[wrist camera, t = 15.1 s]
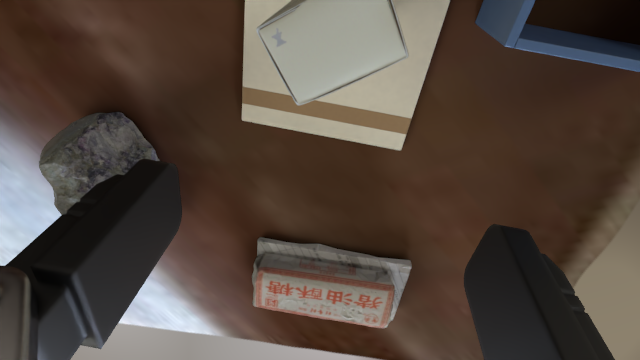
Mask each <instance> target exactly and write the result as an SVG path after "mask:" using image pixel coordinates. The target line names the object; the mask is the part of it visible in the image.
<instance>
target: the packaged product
mask: <svg viewBox="0 0 640 360" xmlns="http://www.w3.org/2000/svg"><path fill="white" fill-rule="evenodd" d="M257 242H258V246H257V258H256V260H255V262H254V266H253V267H254V271H253V275H252V281H253V286H254V293H253V298H254V299H253V303H252V304H253V306H255V307H260V308H266V309H270V310H275V311H283V312H287V313H294V314H299V315H306V316H310V317H317V318H322V319H329V320H336V321H341V322H348V323H355V324H359V325H366V326H370V327H377V328H386V327H388V324H389V323H390V320H393V318H394V315H395V313H396V309H397V307H398V304H399V301H400V298H401V295H402V292H403V290H404V287H405V285H406V282H407V279H408V276H409V273H410V269H411V267H412V265H411V261H410V260H403V259H391V258H380V257H375V256H371V255H367V254H362V253H356V252H351V251H346V250H341V249H336V248H332V247H329V246H325V245H322V244H298V243H290V242H283V241H278V240H273V239H268V238H262V237H260V238H259V239H258V241H257Z"/></svg>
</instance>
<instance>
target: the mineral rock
mask: <svg viewBox="0 0 640 360" xmlns="http://www.w3.org/2000/svg"><path fill="white" fill-rule="evenodd" d="M144 158H145V159H151V160H156V161H160V160H159V159H158V157H157V155H156V152H155V150H154V148H153V147H152V145H151V144H150V143H149V142H148V141H147V140H146V139H145V138H144V137H143V135H142V133H141V132H140V131H139V130H138V128H137V127H136V125H135V124H134V123H133V121H131V120H130V119H128V118H127V117H125V116H124V114H123V113H121V112H112V113H95V114H91V115H88V116H86V117H83V118H81V119H79V120H77V121H75V122H73V123H71V124H70V125H69V126H68V127H67V128H65V129H64V130H62V131H61V132H59V133H58V134H57V135H56V136H55V137H54V138H52V139H51V140H50V141H49V142H48V143H47V144H46V146H45V147H44V149H43V150H42V153H41V156H40V161H39V168H40V170H41V173H42V174H43V176H44V177H45V178H46V179H47V180H48V182H49V183H50V184H51V186H52V187H53V190H54V197H55V203H54V205H55V206H56V208H57V209H58V211H59V212H60V213H61V214H62V215H63V214H66V213H67V210H68V209H69V208H70V207H72V206H73V205H74V204H75V203H76V202H80V198H82V197H83V196H84V195H85V194H86V193H87V192H88V191H89V190H90V189H92V188H93V187H94V186H95V185H96V184H98V183H100V182H102V181H104V180H106V179H108V178H110V177H112V176H115V175H117V174H120V175H125V174H126V173H127V172H128V171H129V170H130V169H131V168H132V167H133V166H134V165H135V164H136V163H137V162H138V161H139V160H141V159H144Z"/></svg>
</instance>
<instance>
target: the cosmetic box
mask: <svg viewBox="0 0 640 360" xmlns="http://www.w3.org/2000/svg"><path fill="white" fill-rule="evenodd" d="M256 31H257V34H258V35H259V37H260V39H261V41H262V43H263V45H264V47H265V49H266V51H267V53H268V55H269V57H270V59H271V61H272V62H273V64H274V66H275V68H276V70H277V72H278V74H279V75H280V77H281V79H282V81H283V83H284V84H285V86H286V88H287V90H288V92H289V93H290V95H291V96H292V98H293V100H294V101H295V103H296V104H297V105H303V104H306V103H309V102H311V101H314V100H316V99H319V98H321V97H324V96H326V95H329V94H331V93H334V92H336V91H338V90H340V89H342V88H345V87H347V86H349V85H351V84H354V83H356V82H358V81H360V80H362V79H365V78H367V77H369V76H371V75H373V74H375V73H377V72H380V71H382V70H383V69H385V68H388V67H390V66H392V65H394V64H396V63H398V62H400V61H402V60H404V59H406V58H408V56H409V53H408V50H407V46H406V43H405V39H404V36H403V32H402V29H401V25H400V22H399V18H398V15H397V12H396V9H395V5H394V2H393V0H292V1H290V2H289V3H288V4H287V5H285V6H284V7H283V8H281V9H280V10H279V11H278V12H276V13H275V14H274V15H272V16H271V17H270V18H268V19H267V20H266V21H265V22H263V23H262V24H261V25H260V26H258V27H257V28H256Z"/></svg>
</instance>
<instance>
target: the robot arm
mask: <svg viewBox="0 0 640 360" xmlns="http://www.w3.org/2000/svg"><path fill="white" fill-rule="evenodd" d="M181 217H182V206H181V196H180V187H179V177H178V170H177V167H176V165H175V164H172V163H167V162H161V161H156V160H151V159H145V158H144V159H141V160H139V161H138V162H137V163H136V164H135V165H134V166H133V167H132V168H131V169H130V170H129V171H128V172H127V173H126V174H125V175H120V174H117V175H115V176H112V177H110V178H108V179H106V180H104V181H102V182H100V183H98V184H96V185H95V186H94V187H93V188H92V189H90V190H89V191H88V192H87V193H86V194H85V195H84V196H83V197H82V198H80V202H76V203H75V204H74V205H73V206H72V207H70V208H69V209H68V210H67V213H66V214H63V215H62V216H60V217H59V218H58V219H57V220H56V221H55V222H54V223H53V224H52V225H50V226H49V227H48V228H47V229H46V230H45V231H44V232H43V233H42V234H40V235H39V236H38V237H37V238H36V239H35V240H34V241H33V242H32V243H30V244H29V245H28V246H27V247H26V248H25V249H24V250H23V251H22V252H20V253H19V254H18V255H17V256H16V257H15V258H14V259H13V260H12V261H10V262H9V263H8V264H7V265H6V266H0V360H70V359H71V358H72V356H73V355H74V353H75V352H76V351H77V349H78V348H79V346H80V345H83V346H88V347H93V348H99V349H101V348H102V346H103V345H104V343H105V342H106V341H107V339H108V337H109V336H110V334H111V333H112V331H113V329H114V328H115V326H116V325H117V324H118V322H119V321H120V319H121V317H122V316H123V314H124V313H125V311H126V310H127V308H128V307H129V305H130V304H131V302H132V301H133V299H134V298H135V296H136V294H137V293H138V291H139V290H140V288H141V287H142V285H143V284H144V282H145V281H146V279H147V278H148V276H149V275H150V273H151V271H152V270H153V268H154V267H155V265H156V264H157V262H158V261H159V259H160V258H161V256H162V255H163V253H164V251H165V250H166V248H167V247H168V245H169V244H170V242H171V241H172V239H173V238H174V236H175V235H176V233H177V231H178V228H179V226H180V222H181ZM464 288H465V292H466V295H467V299H468V303H469V306H470V310H471V313H472V317H473V320H474V324H475V328H476V331H477V335H478V338H479V342H480V346H481V349H482V353H483V356H484V360H615V359H614V358H613V356H612V354H611V352H610V351H609V349H608V347H607V345H606V344H605V342H604V340H603V339H602V337H601V335H600V334H599V332H598V330H597V328H596V327H595V325H594V324H593V322H592V320H591V318H590V317H589V315H588V314H587V313H585V312H584V310H585V308H584V306H583V305H582V303H581V301H580V300H579V298H578V297H577V296H575V291H574V289H573V288H572V286H571V284H570V283H569V281H568V279H567V278H566V276H565V274H564V273H563V272H562V271H561V270H560V269H559V268H558V267H557V266H556V265H555V264H554V263H553V262H552V261H551V260H550V259H549V258H548V257H547V256H546V255H545V254H541V253H540V251H539V249H538V247H537V246H536V244H535V242H534V240H533V238H532V237H531V235H530V233H529V232H528V231H526V230H524V229H518V228H513V227H507V226H502V225H497V224H493V225H491V226H490V227H489V228H488V229H487V231H486V232H485V234H484V236H483V238H482V239H481V241H480V243H479V245H478V246H477V248H476V250H475V252H474V254H473V255H472V257H471V259H470V261H469V262H468V264H467V266H466V269H465V274H464Z"/></svg>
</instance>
